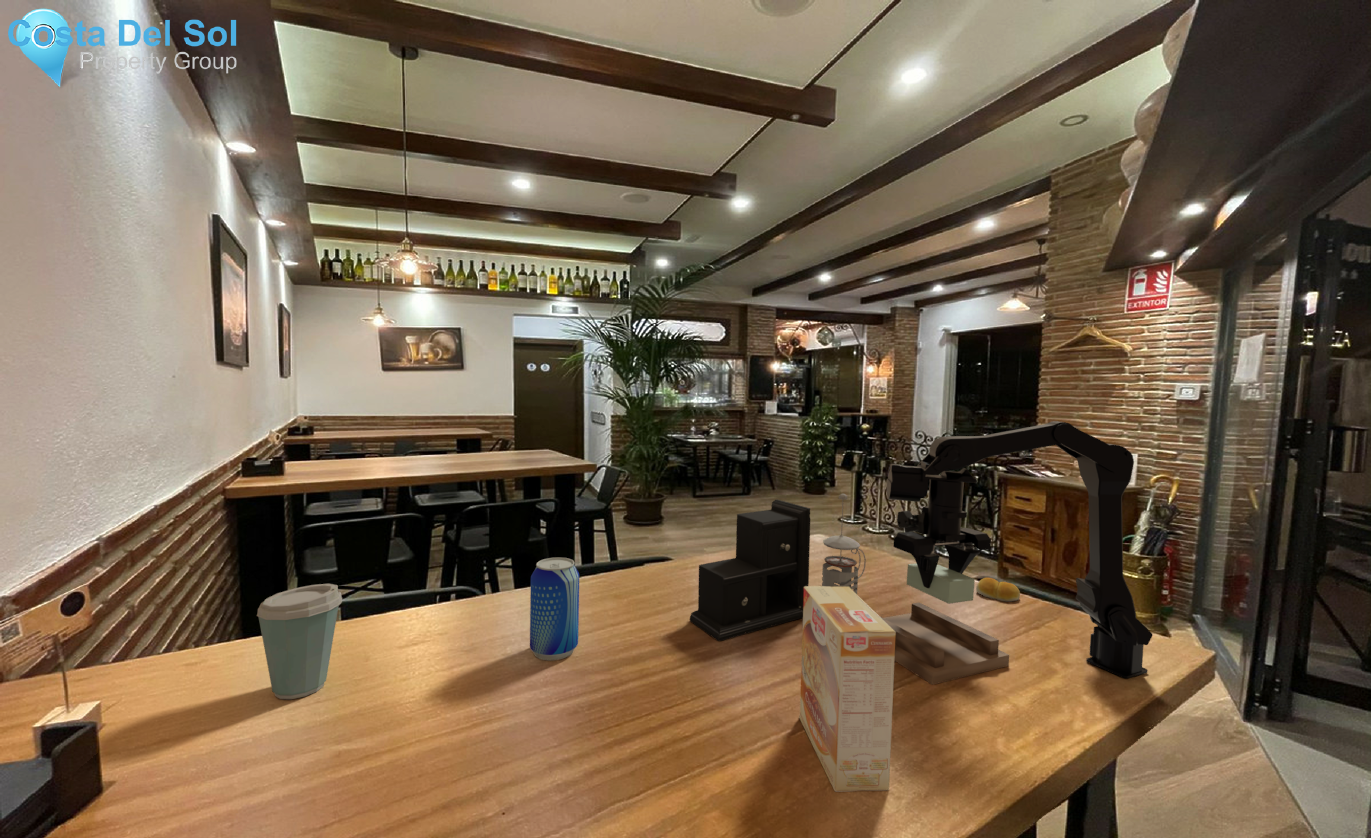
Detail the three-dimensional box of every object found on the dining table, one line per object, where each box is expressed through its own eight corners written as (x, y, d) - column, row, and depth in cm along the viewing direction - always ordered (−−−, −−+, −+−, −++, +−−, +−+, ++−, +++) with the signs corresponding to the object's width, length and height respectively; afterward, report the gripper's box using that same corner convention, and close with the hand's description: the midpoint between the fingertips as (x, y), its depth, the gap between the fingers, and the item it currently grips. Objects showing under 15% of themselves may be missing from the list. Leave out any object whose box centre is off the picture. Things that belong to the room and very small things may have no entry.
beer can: (519, 655, 94) (520, 565, 93) (552, 636, 102) (553, 553, 101) (556, 667, 90) (557, 573, 89) (587, 647, 98) (589, 560, 97)
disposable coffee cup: (241, 712, 76) (240, 608, 75) (277, 674, 86) (276, 582, 85) (327, 702, 79) (327, 602, 78) (352, 666, 89) (351, 577, 88)
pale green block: (973, 600, 98) (974, 578, 98) (948, 603, 96) (950, 581, 95) (929, 581, 107) (931, 561, 107) (906, 584, 105) (907, 564, 105)
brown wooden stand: (1008, 665, 95) (1009, 641, 94) (932, 684, 88) (933, 657, 87) (919, 620, 113) (920, 599, 113) (851, 633, 106) (851, 611, 106)
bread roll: (1017, 605, 123) (1018, 588, 123) (974, 596, 129) (974, 579, 129) (1022, 595, 130) (1023, 579, 130) (980, 586, 135) (981, 571, 135)
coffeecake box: (797, 717, 78) (802, 585, 77) (845, 716, 78) (850, 585, 78) (832, 793, 63) (839, 631, 62) (891, 791, 64) (898, 630, 63)
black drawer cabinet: (718, 642, 101) (722, 519, 100) (688, 621, 110) (691, 508, 109) (809, 618, 113) (813, 508, 112) (774, 600, 122) (778, 498, 121)
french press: (807, 597, 125) (811, 491, 123) (846, 591, 129) (850, 488, 128) (836, 613, 116) (840, 499, 114) (877, 606, 121) (881, 495, 119)
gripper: (946, 494, 111) (941, 568, 112) (875, 497, 104) (870, 575, 105) (995, 505, 101) (989, 587, 102) (919, 509, 94) (913, 596, 95)
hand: (939, 585), depth 101 cm, fingers closed on pale green block, 6 cm apart
